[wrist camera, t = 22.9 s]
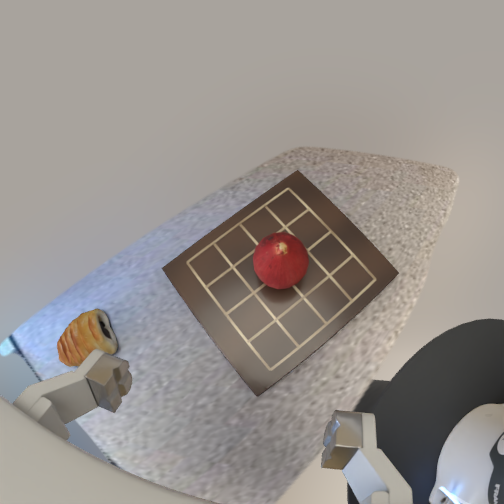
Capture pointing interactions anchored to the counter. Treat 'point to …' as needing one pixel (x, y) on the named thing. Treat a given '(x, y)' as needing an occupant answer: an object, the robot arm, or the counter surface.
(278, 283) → the onion
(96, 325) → the pastry
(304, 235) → the grid board
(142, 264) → the counter surface
